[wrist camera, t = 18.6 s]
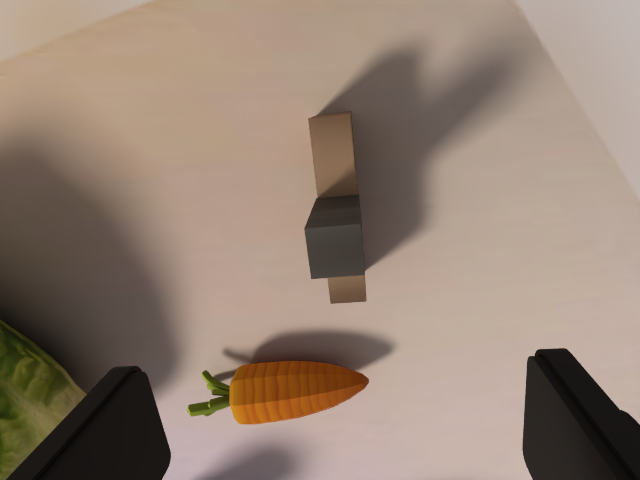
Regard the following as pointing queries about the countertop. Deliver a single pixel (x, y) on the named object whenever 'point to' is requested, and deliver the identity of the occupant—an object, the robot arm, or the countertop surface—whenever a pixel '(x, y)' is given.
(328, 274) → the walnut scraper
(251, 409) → the carrot
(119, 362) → the countertop surface
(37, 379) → the lettuce
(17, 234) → the countertop surface
